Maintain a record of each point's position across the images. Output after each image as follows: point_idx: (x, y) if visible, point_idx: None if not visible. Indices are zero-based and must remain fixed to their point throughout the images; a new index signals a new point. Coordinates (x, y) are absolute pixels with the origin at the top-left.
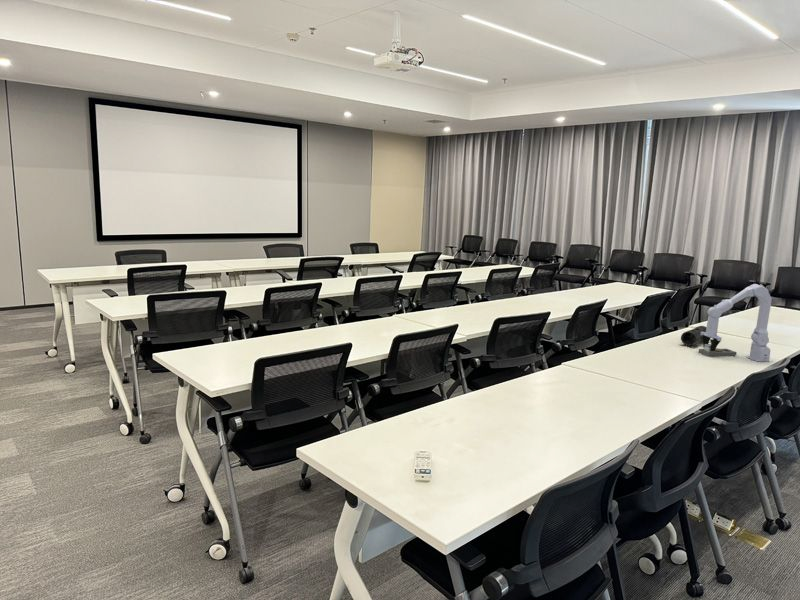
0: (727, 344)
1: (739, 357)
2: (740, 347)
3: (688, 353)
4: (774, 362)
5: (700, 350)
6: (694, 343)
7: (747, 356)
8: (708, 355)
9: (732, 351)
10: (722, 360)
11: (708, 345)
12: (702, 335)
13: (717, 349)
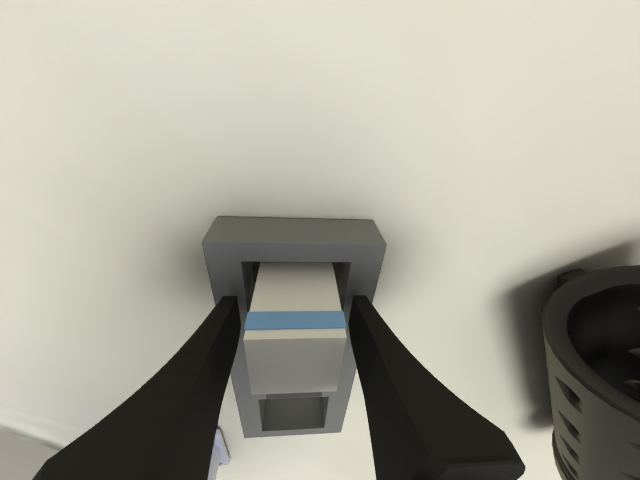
0: None
1: None
2: None
3: (378, 35)
4: None
5: (351, 236)
6: (542, 326)
7: (217, 438)
8: (215, 226)
9: (261, 428)
10: (63, 256)
11: (260, 338)
12: (587, 465)
13: None
